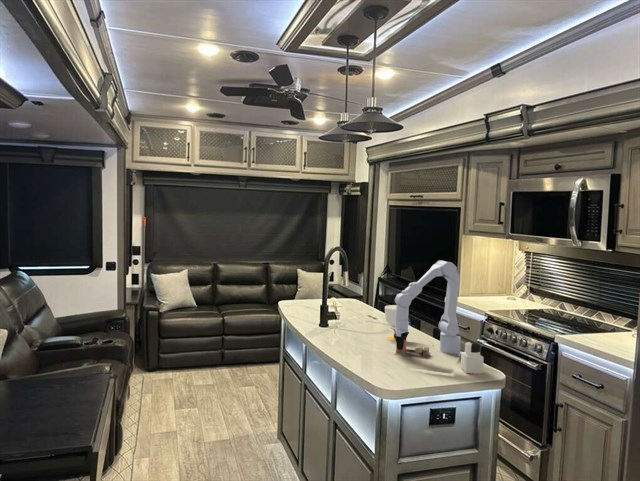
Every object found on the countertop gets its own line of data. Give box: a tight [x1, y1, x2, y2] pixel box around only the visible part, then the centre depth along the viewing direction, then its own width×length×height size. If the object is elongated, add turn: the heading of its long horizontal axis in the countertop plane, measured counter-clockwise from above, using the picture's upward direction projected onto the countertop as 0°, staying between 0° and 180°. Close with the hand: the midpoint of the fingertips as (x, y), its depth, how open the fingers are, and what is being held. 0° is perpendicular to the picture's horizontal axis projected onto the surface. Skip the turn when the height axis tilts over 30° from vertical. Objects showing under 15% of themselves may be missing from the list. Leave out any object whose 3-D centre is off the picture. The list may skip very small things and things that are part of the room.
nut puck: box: [414, 346, 424, 355], centre depth 216 cm, size 4×4×3 cm
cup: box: [384, 304, 396, 341], centre depth 246 cm, size 12×12×17 cm
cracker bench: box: [394, 347, 431, 360], centre depth 217 cm, size 15×11×4 cm
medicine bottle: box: [460, 341, 484, 375], centre depth 198 cm, size 7×7×12 cm
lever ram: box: [395, 339, 408, 353], centre depth 219 cm, size 4×4×6 cm
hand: (400, 348), depth 219 cm, fingers open, 4 cm apart
